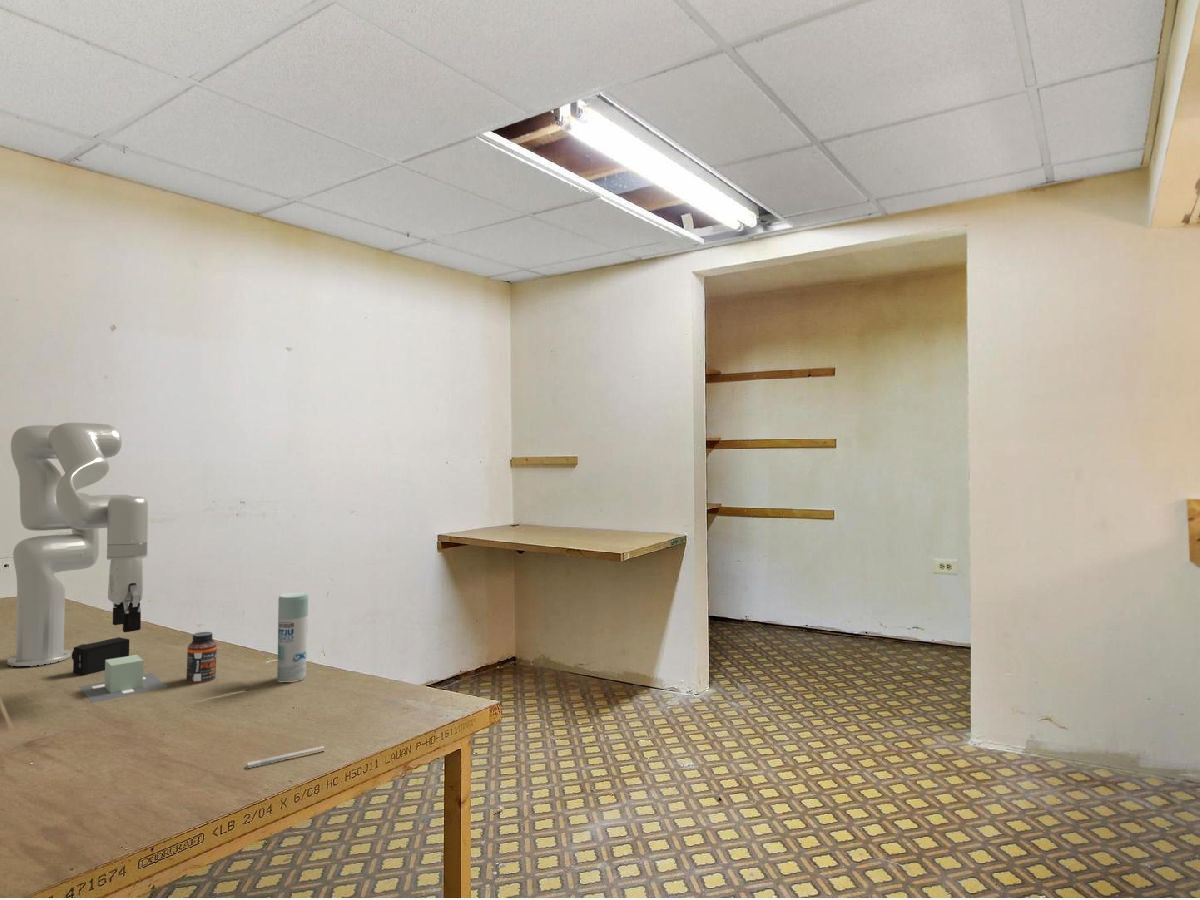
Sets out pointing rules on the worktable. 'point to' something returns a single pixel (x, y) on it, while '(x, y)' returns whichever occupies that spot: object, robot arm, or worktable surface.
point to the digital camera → (98, 655)
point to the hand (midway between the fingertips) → (126, 627)
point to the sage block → (123, 673)
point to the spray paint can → (292, 636)
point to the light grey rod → (280, 757)
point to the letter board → (101, 693)
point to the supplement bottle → (201, 658)
